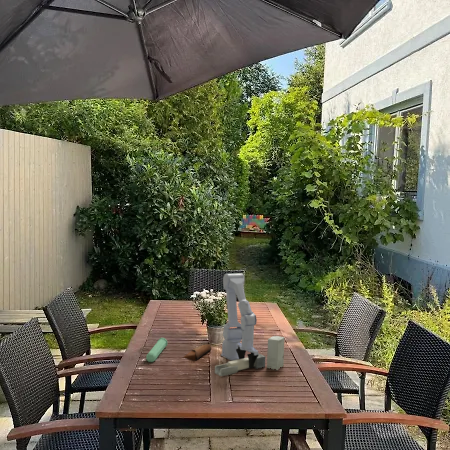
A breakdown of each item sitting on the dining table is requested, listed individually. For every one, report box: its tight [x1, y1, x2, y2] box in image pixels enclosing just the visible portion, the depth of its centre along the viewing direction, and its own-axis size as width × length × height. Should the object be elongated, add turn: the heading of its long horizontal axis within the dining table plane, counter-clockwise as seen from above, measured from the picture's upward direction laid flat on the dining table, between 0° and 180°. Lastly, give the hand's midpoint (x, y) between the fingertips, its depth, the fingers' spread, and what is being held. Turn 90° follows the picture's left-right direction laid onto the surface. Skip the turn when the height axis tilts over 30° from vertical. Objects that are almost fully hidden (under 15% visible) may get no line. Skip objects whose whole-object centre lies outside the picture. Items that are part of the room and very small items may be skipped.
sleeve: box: [214, 362, 239, 377], centre depth 230 cm, size 5×10×4 cm, turn 127°
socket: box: [253, 352, 266, 370], centre depth 242 cm, size 7×6×5 cm
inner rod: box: [227, 357, 255, 371], centre depth 236 cm, size 3×16×4 cm, turn 127°
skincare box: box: [266, 335, 285, 371], centre depth 241 cm, size 8×6×15 cm
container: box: [146, 337, 168, 363], centre depth 252 cm, size 6×6×25 cm
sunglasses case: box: [182, 343, 212, 361], centre depth 255 cm, size 18×7×7 cm
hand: (246, 365), depth 238 cm, fingers open, 7 cm apart
